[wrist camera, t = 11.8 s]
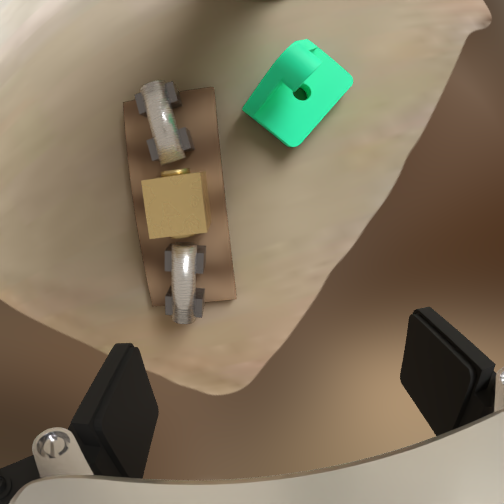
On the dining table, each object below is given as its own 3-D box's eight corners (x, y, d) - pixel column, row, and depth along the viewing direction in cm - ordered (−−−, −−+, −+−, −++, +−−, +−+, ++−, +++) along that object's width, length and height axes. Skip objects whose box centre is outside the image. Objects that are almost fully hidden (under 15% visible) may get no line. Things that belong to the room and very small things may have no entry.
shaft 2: (170, 236, 38) (162, 246, 33) (206, 239, 38) (202, 249, 34) (170, 305, 40) (163, 322, 36) (204, 307, 41) (200, 325, 36)
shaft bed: (127, 104, 35) (123, 102, 33) (214, 89, 35) (213, 86, 33) (155, 301, 42) (152, 306, 40) (236, 294, 42) (236, 299, 40)
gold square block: (154, 172, 36) (140, 174, 30) (205, 165, 36) (199, 166, 30) (163, 232, 38) (150, 244, 32) (212, 226, 38) (207, 238, 32)
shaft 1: (142, 97, 33) (129, 90, 29) (176, 85, 33) (169, 75, 29) (161, 167, 36) (151, 168, 31) (196, 155, 35) (191, 154, 31)
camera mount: (290, 151, 38) (309, 147, 28) (242, 111, 36) (244, 93, 26) (349, 84, 35) (382, 63, 25) (303, 46, 34) (323, 13, 24)
